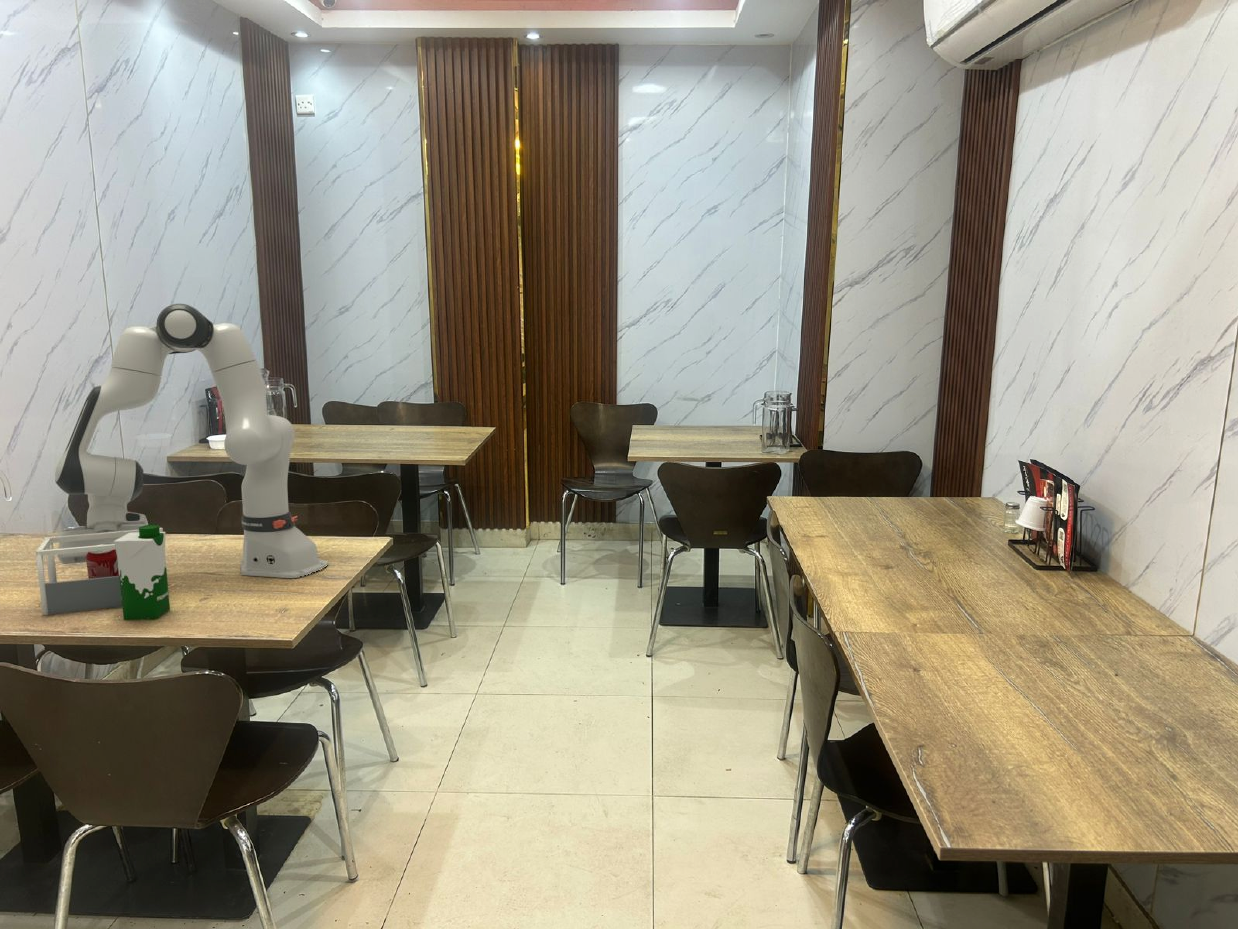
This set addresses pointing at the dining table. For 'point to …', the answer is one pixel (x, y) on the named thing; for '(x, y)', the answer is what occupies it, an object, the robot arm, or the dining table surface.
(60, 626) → the dining table surface
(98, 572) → the soda can
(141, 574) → the milk carton
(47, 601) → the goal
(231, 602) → the dining table surface
